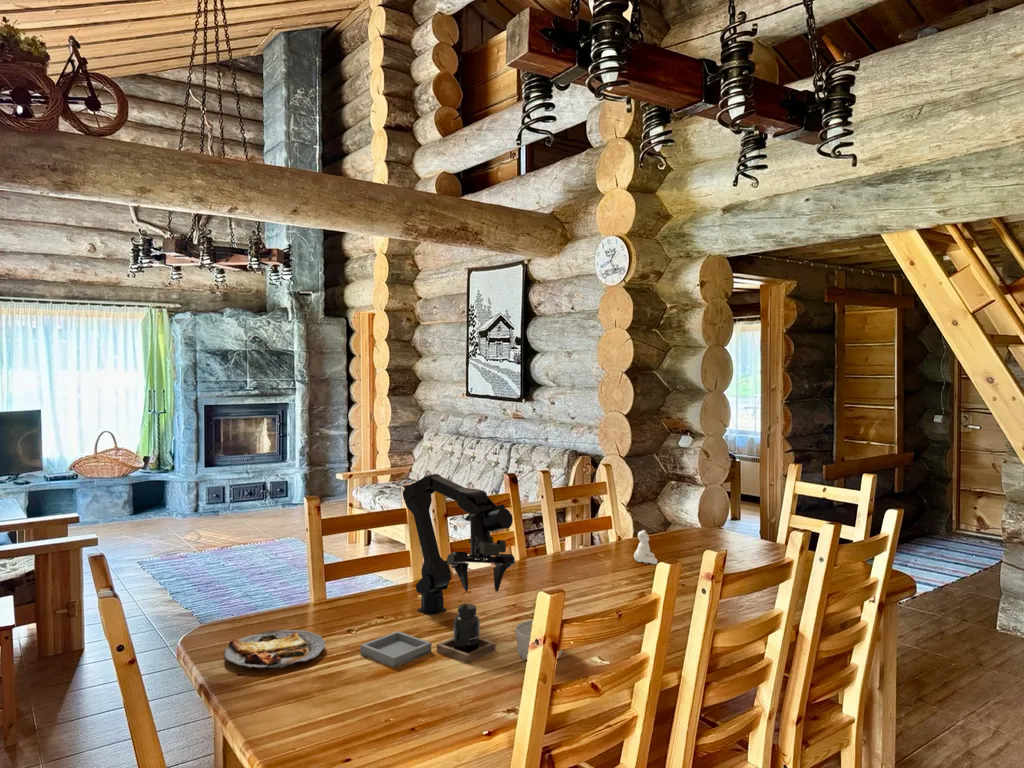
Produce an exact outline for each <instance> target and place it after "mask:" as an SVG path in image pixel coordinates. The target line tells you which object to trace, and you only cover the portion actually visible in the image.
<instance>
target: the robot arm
mask: <svg viewBox="0 0 1024 768" xmlns="http://www.w3.org/2000/svg"><path fill="white" fill-rule="evenodd" d="M435 492H436V493H439V494H441V495H443V496H444V497H447V498H449V499H451V500H453V501H454V502H456V503H457V506H458V507H459V508H460V509H462V510H463V511H464V512H466V513H469V514H468V515H467V516H465V518H464V520H465V521H466V522H469V525H470V539H468V543H469V544H470V553H469V554H468V553H467V551H453V552H450V553H449V554H448V555H447V557H446V560H444V559H443V558H442V556H441V555H440V551H439V547H438V542H437V537H436V534H435V528H434V525H433V521H432V517H431V513H430V509H431V504H432V502H433V500H432V498H433V497H432V495H433V494H434V493H435ZM402 497H403V500H404V501H403V502H404V503H405V506H406V508H407V509H408V510H409V512H411V514H412V515H413V518H414V524H415V527H416V530H417V531H416V532H417V535H418V541H419V544H420V548H421V553H422V556H423V563H422V567H421V579H420V580H419V581H418V582H417V583H416V584H415V590H416V592H417V593H418V594H420V595H421V597H420V598H421V599H420V600H421V601H420V602H421V603H420V604H421V605H420V608H419V607H418V608H417V612H421V613H422V614H425V615H429V616H434V614H435V615H437V614H440V613H443V612H445V611H447V608H446V607H445V606H444V603H445V601H444V592H443V591H444V590H445V591H446V590H448V587H449V585H450V581H451V579H452V570H451V569H454V571H455V572H456V574H457V576H458V578H459V580H460V582H461V584H462V587H463V590H464V591H465V592H467V591H468V590H469V575H468V568H469V564H470V563H477V564H480V563H481V564H493V565H494V566H495V567H493V583H494V584H493V585H494V591H495V593H496V592H499V590H500V587H501V583H502V580H503V577H504V575H505V572H506V571H507V570H508V569H509V568H511V566H514V565H515V564H516V558H515V556H514V555H513V553H506V548H507V546H506V540H504V539H498V540H497V541H496V542H494V538H493V536H491V535H492V534H491V532H493V533H494V532H499V531H502V530H507V529H510V528H511V526H512V525H513V515H512V514H511V512H510V510H508V509H507V508H506V507H505V504H503V503H502V504H498V505H496V504H495V503H494V502H493V500H492V499H491V498H490V497H489V495H488V493H487V492H486V491H485V490H483V489H478V488H472V487H471V488H470V487H466V486H465V487H464V486H463V485H460V484H457V483H456V482H453V481H452V480H449V479H447V478H445V477H443V476H442V475H440V474H438V473H431V474H427V475H425V476H423V477H422V478H420V479H418V480H417V481H415V482H413V483H411V484H408V485H406V486H405V487H404V490H403V491H402ZM450 566H451V568H450Z"/></svg>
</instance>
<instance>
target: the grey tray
mask: <svg viewBox="0 0 1024 768" xmlns="http://www.w3.org/2000/svg"><path fill="white" fill-rule="evenodd" d="M432 643H433V642H431V641H427V640H424V639H422V638H419V637H415V636H414V635H410V634H407V633H405V632H402V631H400V630H396V631H394V632H392V633H389V634H386V635H384V636H380V637H378V638H375V639H373V640H369V641H368V642H365V643H362V644H360V645H359V646H360V649H359V652H360V653H359V654H360V655H361V656H363V657H365V656H366V657H365V658H368V657H369V658H368V659H370V658H371V660H373V661H375V660H376V661H375V662H378V661H379V662H378V663H380V662H381V663H380V664H384V665H385V664H386V665H385V666H388V665H389V666H388V667H390V666H391V668H393V667H394V669H396V668H398V667H400V666H403V665H404V663H405V664H407V663H409V662H412V661H414V660H417V659H419V658H422V657H424V656H426V655H428V653H429V654H430V652H431V653H432ZM421 656H422V657H421ZM402 664H403V665H402ZM397 666H398V667H397ZM395 667H396V668H395Z"/></svg>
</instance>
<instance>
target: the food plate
mask: <svg viewBox="0 0 1024 768" xmlns="http://www.w3.org/2000/svg"><path fill="white" fill-rule="evenodd" d="M325 643H326V641H325V639H323V638H322V636H321V635H320V634H316V633H314V632H311V631H307V630H301V629H295V630H294V629H290V630H289V629H282V630H279V629H274V630H268V631H264V632H258V633H255V634H250V635H248V636H246V635H245V636H244V637H241V638H239V639H231V640H230V641H229V644H228V646H227V647H226V648H225V649H223V658H224V659H225V660H226V661H227V662H229V663H232V664H234V665H236V666H238V667H239V666H240V667H243V668H248V669H251V668H254V667H255V668H256V669H263V668H270V669H278V668H280V669H283V668H285V667H287V666H289V665H294V664H295V663H301V662H308V661H309V660H312V659H314V658H316V657H318V656H319V655H320V654H321V652H322V650H324V648H325V645H326V644H325ZM307 650H308V652H307ZM305 653H307V655H305ZM298 656H303V657H301V658H299V659H297V660H294V658H293V657H298ZM287 661H289V662H287ZM290 661H291V662H290Z"/></svg>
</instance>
